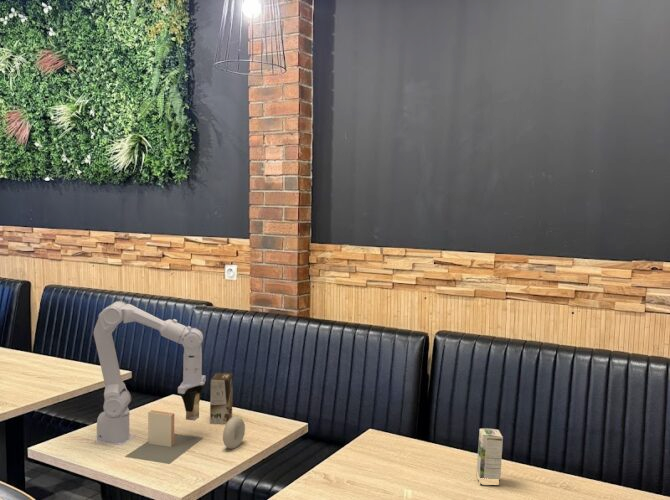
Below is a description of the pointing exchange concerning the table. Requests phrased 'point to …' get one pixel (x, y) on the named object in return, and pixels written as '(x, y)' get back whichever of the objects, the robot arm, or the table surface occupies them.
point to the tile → (161, 428)
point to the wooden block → (194, 410)
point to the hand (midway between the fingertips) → (191, 409)
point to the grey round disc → (233, 432)
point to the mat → (165, 449)
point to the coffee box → (221, 398)
